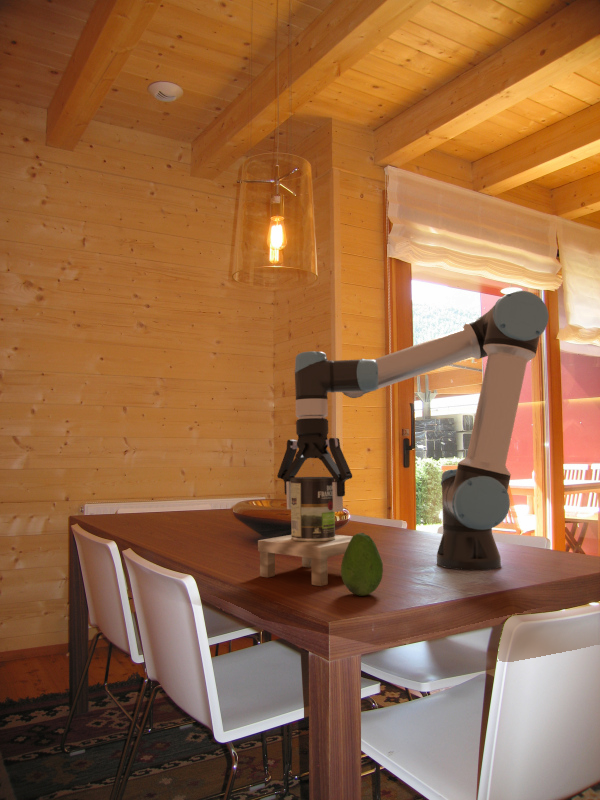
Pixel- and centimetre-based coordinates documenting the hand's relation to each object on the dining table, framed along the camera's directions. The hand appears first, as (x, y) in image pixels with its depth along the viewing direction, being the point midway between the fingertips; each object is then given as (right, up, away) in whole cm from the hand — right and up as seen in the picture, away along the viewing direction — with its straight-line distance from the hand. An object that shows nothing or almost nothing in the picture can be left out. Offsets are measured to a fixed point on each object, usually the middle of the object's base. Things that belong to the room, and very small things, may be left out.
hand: (314, 510), depth 141 cm
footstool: (0, -15, -1) cm, 15 cm away
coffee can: (0, -7, -1) cm, 7 cm away
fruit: (+9, -13, -22) cm, 27 cm away
